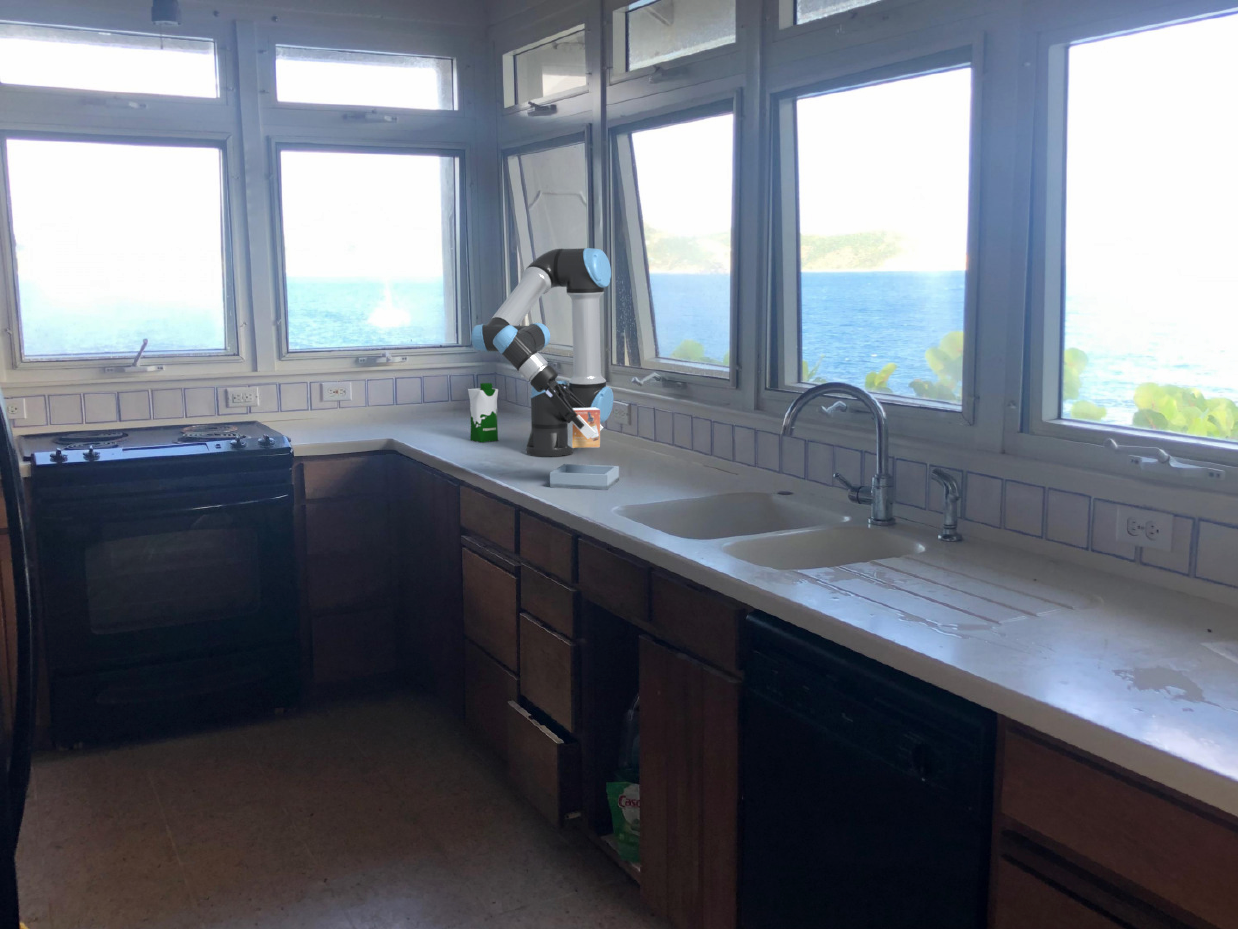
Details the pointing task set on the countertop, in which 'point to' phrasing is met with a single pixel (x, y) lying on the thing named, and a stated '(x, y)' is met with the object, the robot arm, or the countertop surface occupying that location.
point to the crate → (584, 476)
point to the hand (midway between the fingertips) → (595, 433)
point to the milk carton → (483, 413)
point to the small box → (593, 421)
